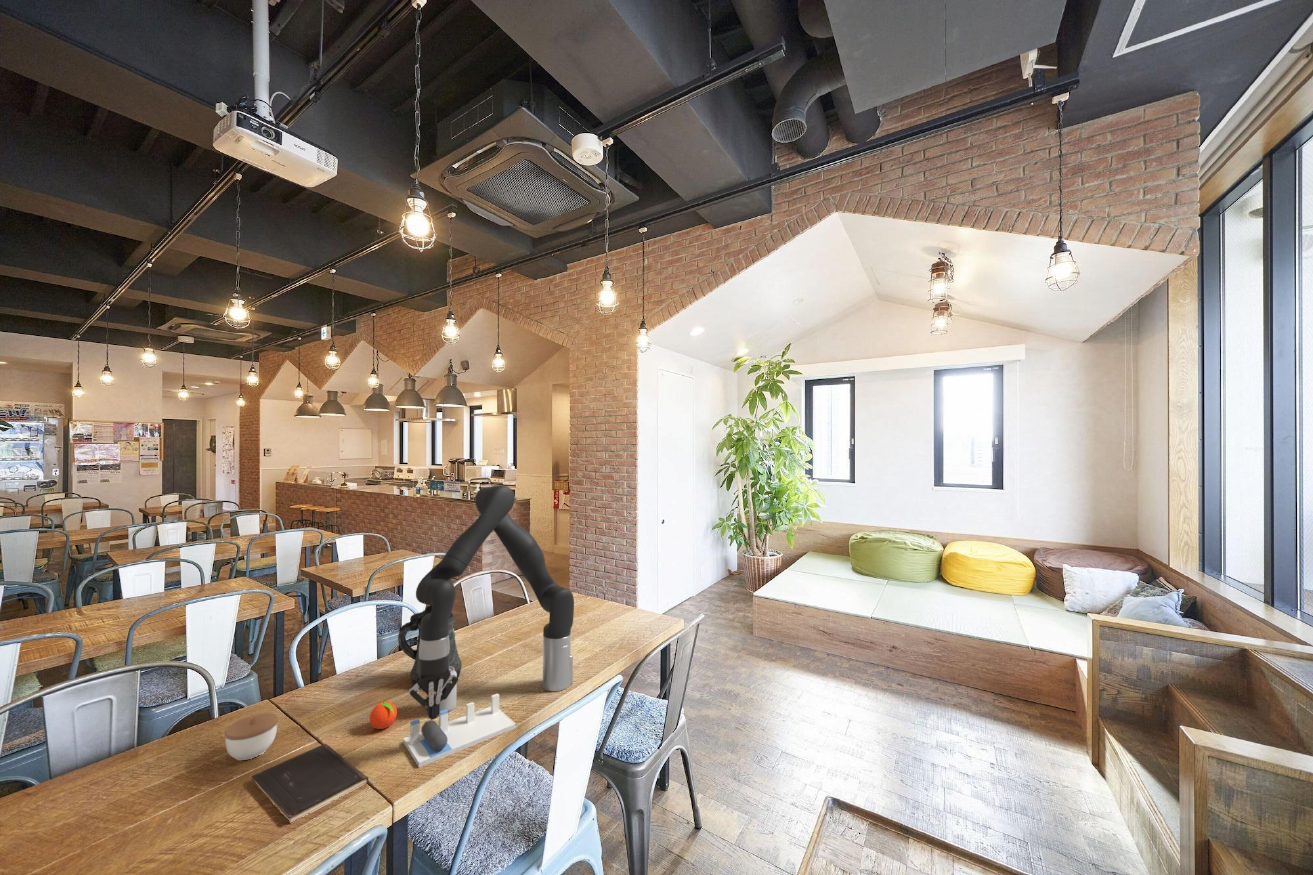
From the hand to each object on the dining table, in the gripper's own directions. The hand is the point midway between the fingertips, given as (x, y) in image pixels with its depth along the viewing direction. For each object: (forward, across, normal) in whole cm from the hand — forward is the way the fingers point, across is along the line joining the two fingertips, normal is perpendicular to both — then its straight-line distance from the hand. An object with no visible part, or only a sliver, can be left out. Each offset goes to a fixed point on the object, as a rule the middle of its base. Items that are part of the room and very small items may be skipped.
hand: (432, 717), depth 130 cm
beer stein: (+8, -13, -40) cm, 43 cm away
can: (+8, -9, -18) cm, 21 cm away
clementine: (+8, +7, -18) cm, 21 cm away
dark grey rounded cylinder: (+6, 0, +1) cm, 6 cm away
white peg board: (+8, -8, 0) cm, 11 cm away
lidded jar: (+8, +36, -29) cm, 47 cm away
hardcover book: (+8, +26, -5) cm, 28 cm away
